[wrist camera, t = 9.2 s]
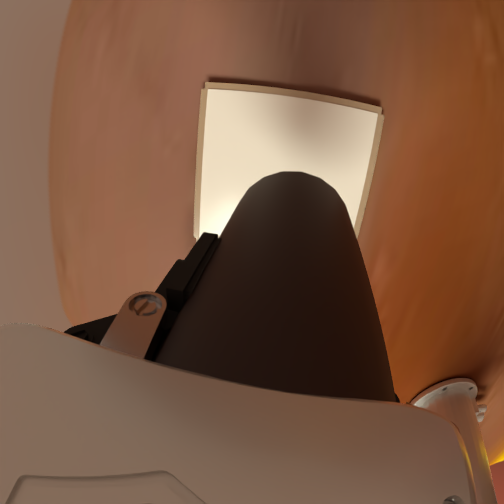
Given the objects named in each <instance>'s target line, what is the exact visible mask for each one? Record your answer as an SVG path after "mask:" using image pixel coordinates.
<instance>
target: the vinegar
mask: <svg viewBox="0 0 504 504" xmlns="http://www.w3.org/2000/svg"><path fill="white" fill-rule="evenodd" d="M219 238H221V240H220V242H219V244H218V246H217V248H216V249H215V251H214V253H213V255H212V257H211V259H210V261H209V262H208V264H207V266H206V268H205V270H204V272H203V274H202V276H201V278H200V279H199V281H198V283H197V285H196V287H195V289H194V291H193V293H192V294H191V295H190V296H189V298H188V299H187V301H186V302H185V304H184V306H183V307H182V309H181V310H180V312H179V314H178V316H177V317H176V319H175V321H174V323H173V325H172V327H171V329H170V330H169V332H168V334H167V335H166V337H165V338H164V340H163V342H162V344H161V346H160V348H159V350H158V352H157V354H156V355H155V357H154V359H153V362H156V363H160V364H164V365H167V366H171V367H175V368H179V369H183V370H187V371H191V372H195V373H199V374H203V375H208V376H211V377H215V378H219V379H222V380H227V381H231V382H236V383H241V384H246V385H251V386H256V387H261V388H266V389H272V390H278V391H283V392H289V393H298V394H307V395H317V396H328V397H340V398H356V399H367V400H377V401H388V402H396V398H395V393H394V387H393V381H392V376H391V371H390V366H389V361H388V356H387V351H386V346H385V342H384V337H383V333H382V329H381V324H380V320H379V316H378V312H377V308H376V304H375V300H374V297H373V293H372V289H371V285H370V282H369V278H368V275H367V271H366V268H365V264H364V261H363V257H362V254H361V251H360V247H359V244H358V241H357V238H356V235H355V231H354V228H353V225H352V222H351V219H350V216H349V213H348V210H347V207H346V205H345V203H344V201H343V200H342V198H341V197H340V195H339V194H338V193H337V191H336V190H335V189H334V188H333V187H332V186H330V185H329V184H328V183H326V182H325V181H324V180H322V179H321V178H319V177H316V176H313V175H311V174H308V173H305V172H302V171H281V172H278V173H275V174H272V175H268V176H265V177H263V178H262V179H260V180H259V181H258V182H256V183H255V184H253V185H252V186H251V187H249V188H248V190H247V191H246V193H245V194H244V196H243V197H242V199H241V200H240V201H239V203H238V205H237V207H236V208H235V210H234V212H233V213H232V215H231V217H230V219H229V221H228V222H227V224H226V226H225V228H224V229H223V231H222V233H221V235H220V236H219Z"/></svg>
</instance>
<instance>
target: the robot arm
mask: <svg viewBox="0 0 504 504" xmlns="http://www.w3.org/2000/svg"><path fill="white" fill-rule="evenodd" d="M220 240H221V238H218V234H214V233H208V232H203V234H202V235H201V236H200V238H199V239H198V241H197V242H196V244H195V245H194V247H193V248H192V250H191V251H190V253H189V254H188V255H187V257H186V258H185V260H181V259H178V260H177V261H176V262H175V264H174V265H173V267H172V268H171V269H170V271H169V272H168V274H167V275H166V277H165V278H164V280H163V281H162V282H161V284H160V285H159V287H158V288H157V290H156V291H155V292H149V291H145V292H139V293H136V294H133V295H132V296H130V297H129V298H128V299H127V300H126V301H125V303H124V304H123V306H122V308H121V309H120V311H119V313H118V314H115V315H112V316H109V317H105V318H102V319H98V320H95V321H91V322H88V323H84V324H81V325H77V326H74V327H71V328H69V329H68V330H66V331H65V332H64V333H63V332H60V331H57V330H54V329H51V328H47V327H43V326H40V325H34V324H28V323H11V324H5V325H2V326H0V504H498V503H497V500H496V495H495V490H494V486H493V481H492V476H491V471H490V468H489V462H488V458H487V454H486V450H485V446H484V442H483V438H482V434H481V431H480V427H479V424H478V422H480V421H482V420H483V418H484V412H485V411H486V409H487V405H486V404H482V405H477V403H476V400H475V398H476V396H477V393H478V390H477V386H476V384H475V382H474V381H473V380H471V379H468V378H455V379H450V380H446V381H443V382H441V383H438V384H436V385H434V386H432V387H430V388H428V389H426V390H425V391H423V392H422V393H420V394H419V395H418V396H417V397H416V398H414V399H413V400H412V402H411V403H408V402H406V404H403V403H400V400H399V398H398V397H397V395H396V394H395V398H396V402H388V401H377V400H367V399H356V398H340V397H328V396H317V395H307V394H298V393H289V392H283V391H278V390H272V389H266V388H261V387H256V386H251V385H246V384H241V383H236V382H231V381H227V380H222V379H219V378H215V377H211V376H208V375H203V374H199V373H195V372H191V371H187V370H183V369H179V368H175V367H171V366H167V365H164V364H160V363H156V362H153V359H154V357H155V355H156V354H157V352H158V350H159V348H160V346H161V344H162V342H163V340H164V338H165V337H166V335H167V334H168V332H169V330H170V329H171V327H172V325H173V323H174V321H175V319H176V317H177V316H178V314H179V312H180V310H181V309H182V307H183V306H184V304H185V302H186V301H187V299H188V298H189V296H190V295H191V294H192V293H193V291H194V289H195V287H196V285H197V283H198V281H199V279H200V278H201V276H202V274H203V272H204V270H205V268H206V266H207V264H208V262H209V261H210V259H211V257H212V255H213V253H214V251H215V249H216V248H217V246H218V244H219V242H220Z"/></svg>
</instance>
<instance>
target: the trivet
mask: <svg viewBox="0 0 504 504" xmlns="http://www.w3.org/2000/svg"><path fill="white" fill-rule="evenodd" d="M381 112H382V107H378V106H374V105H370V104H366V103H361V102H357V101H352V100H348V99H343V98H338V97H333V96H328V95H322V94H317V93H311V92H304V91H298V90H291V89H283V88H275V87H267V86H257V85H246V84H233V83H215V82H205V89H201V99H200V112H199V125H198V140H197V157H196V178H195V204H194V237H195V238H197V241H198V239H199V238H200V236H201V235H202V234H203V232H208V233H214V234H218V238H219V236H220V235H221V233H222V231H223V229H224V228H225V226H226V224H227V222H228V221H229V219H230V217H231V215H232V213H233V212H234V210H235V208H236V207H237V205H238V203H239V201H240V200H241V199H242V197H243V196H244V194H245V193H246V191H247V190H248V188H249V187H251V186H252V185H253V184H255V183H256V182H258V181H259V180H260V179H262V178H263V177H265V176H268V175H272V174H275V173H278V172H281V171H302V172H305V173H308V174H311V175H313V176H316V177H319V178H321V179H322V180H324V181H325V182H326V183H328V184H329V185H330V186H332V187H333V188H334V189H335V190H336V191H337V193H338V194H339V195H340V197H341V198H342V200H343V201H344V203H345V205H346V207H347V210H348V213H349V216H350V219H351V222H352V225H353V228H354V231H355V235H356V238H358V234H359V230H360V226H361V223H362V219H363V215H364V211H365V207H366V203H367V199H368V194H369V190H370V186H371V181H372V177H373V172H374V168H375V163H376V158H377V153H378V148H379V143H380V138H381V133H382V127H383V121H384V115H381ZM197 241H196V242H197Z"/></svg>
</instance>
